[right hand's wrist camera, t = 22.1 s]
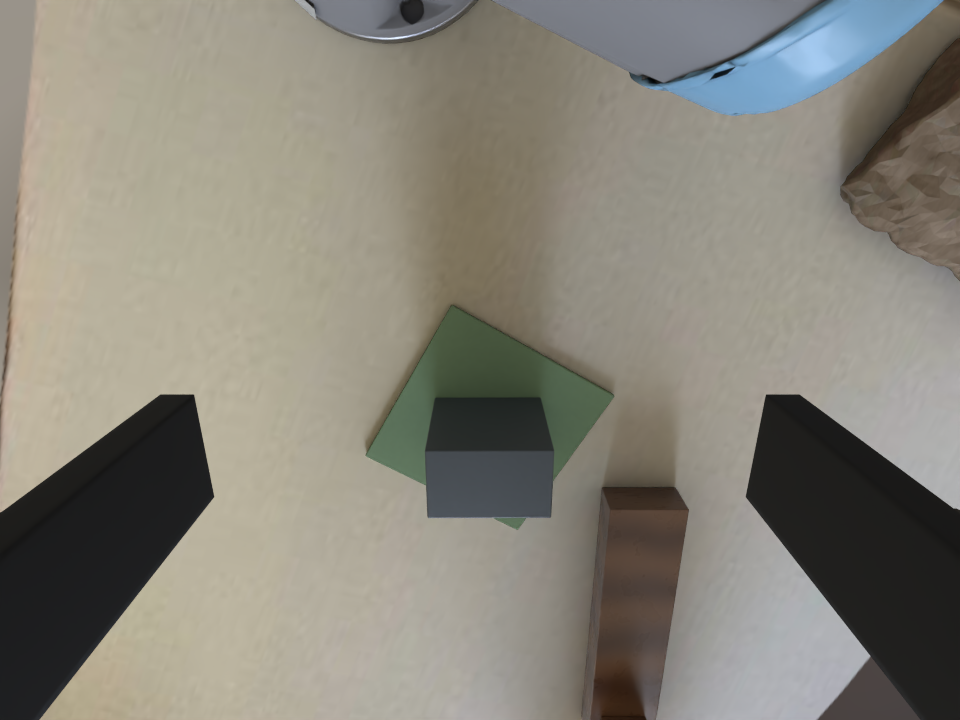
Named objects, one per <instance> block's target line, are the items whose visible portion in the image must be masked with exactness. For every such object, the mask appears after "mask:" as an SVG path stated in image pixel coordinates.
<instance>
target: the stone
mask: <svg viewBox="0 0 960 720" xmlns="http://www.w3.org/2000/svg"><path fill="white" fill-rule="evenodd" d="M840 195H841V197H842V199H843V201H845V202H847V203H849V205H850V209H851V213H852V214H853V215H855V216H856V218H857V219H858V221H859V222H860V223H861V224H862V225H864V226H866V227H868V228H870V229H872V230H873V231H881V232H888V234H889V236H890V239H891V241H892V242H893V243H895V244H896V246H897V247H898V248H899V249H901V250H903V251H905V252H906V253H909V254H912V255H915V256H919V257H921V258H923V259H924V260H926V261H928V262H929V263H931V264H934V265H937V266H945V267H947V268H949V269H950V270H951V271H953V273H954V275H955V277H956V278H957V279H958V280H959V281H960V38H958V39H957V40H955V41H954V43H953V44H952V45H951V46H950V47H949V48H948V49H947V50H946V51H945V52H944V53H943V54H942V55H941V56H940V57H939V58H938V59H937V61H936V62H935V64H934V65H933V66H932V67H931V69H930V70H929V71H928V72H927V73H926V74H925V76H924V78H923V81H922V82H921V83H920V84H919V85H918V86H917V88H916V90H915V92H914V94H913V96H912V98H911V101H910V102H909V104H908V106H907V108H906V110H905V112H904V113H903V114H902V115H901V116H900V117H899V118H898V119H897V120H896V121H895V122H894V123H893V124H892V125H891V126H890V127H889V129H888V130H887V131H886V133H885V134H884V135H883V136H882V137H881V139H880V140H879V141H878V142H877V143H876V144H875V146H874V147H873V148H872V149H871V150H870V151H869V152H868V154H867V156H866V157H865V159H864V161H863V162H862V163H860V164H859V165H858V166H856V167H855V169H854V170H853V171H852V172H851V173H850V174H849V176H848V177H847V179H846V181H845V182H844V183H843V185H842V186H841V194H840Z"/></svg>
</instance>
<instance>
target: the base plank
mask: <svg viewBox="0 0 960 720" xmlns="http://www.w3.org/2000/svg"><path fill="white" fill-rule="evenodd" d="M688 512H689V509H688V508H687V506H686V504H685V503H684V501H683V499H682V497H681V496H680V494H679V492H678V491H677V489H676V488H602V494H601V505H600V516H599V527H598V538H597V549H596V561H595V572H594V583H593V594H592V605H591V616H590V627H589V638H588V649H587V660H586V671H585V682H584V693H583V705H582V720H656V715H657V709H658V702H659V696H660V690H661V683H662V677H663V671H664V664H665V658H666V652H667V645H668V639H669V633H670V626H671V620H672V613H673V607H674V601H675V594H676V588H677V582H678V575H679V569H680V563H681V556H682V550H683V544H684V537H685V531H686V524H687V518H688Z"/></svg>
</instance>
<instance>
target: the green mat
mask: <svg viewBox="0 0 960 720" xmlns="http://www.w3.org/2000/svg"><path fill="white" fill-rule="evenodd" d="M501 397H540V398H541V400H542V404H543V408H544V412H545V416H546V420H547V424H548V428H549V432H550V436H551V440H552V443H553V447H554V468H553V480H554V479H555V478H556V476H557V475H558V473H559V472H560V471H561V469H562V468H563V466H564V465H565V464H566V462H567V461H568V460H569V458H570V457H571V455H572V454H573V453H574V451H575V450H576V449H577V447H578V446H579V444H580V443H581V442H582V440H583V439H584V437H585V436H586V435H587V433H588V432H589V431H590V429H591V428H592V426H593V425H594V424H595V422H596V421H597V420H598V418H599V417H600V415H601V414H602V413H603V411H604V410H605V408H606V407H607V406H608V404H609V403H610V402H611V400H612V399H613V397H614V395H613V394H612V393H610V392H608V391H606V390H605V389H603V388H601V387H599V386H597V385H596V384H594V383H592V382H590V381H588V380H587V379H585V378H583V377H581V376H579V375H578V374H576V373H574V372H572V371H570V370H569V369H567V368H565V367H563V366H561V365H560V364H558V363H556V362H554V361H552V360H551V359H549V358H547V357H545V356H543V355H542V354H540V353H538V352H536V351H534V350H533V349H531V348H529V347H527V346H526V345H524V344H522V343H520V342H518V341H517V340H515V339H513V338H511V337H509V336H508V335H506V334H504V333H502V332H500V331H499V330H497V329H495V328H493V327H491V326H490V325H488V324H486V323H484V322H482V321H481V320H479V319H477V318H475V317H473V316H472V315H470V314H468V313H466V312H464V311H463V310H461V309H459V308H457V307H455V306H454V305H451V307H450V309H449V311H448V312H447V314H446V316H445V318H444V319H443V321H442V323H441V325H440V326H439V328H438V330H437V331H436V333H435V335H434V337H433V338H432V340H431V342H430V344H429V345H428V347H427V349H426V351H425V352H424V354H423V356H422V358H421V359H420V361H419V363H418V365H417V366H416V368H415V370H414V371H413V373H412V375H411V377H410V378H409V380H408V382H407V384H406V385H405V387H404V389H403V391H402V392H401V394H400V396H399V398H398V399H397V401H396V403H395V405H394V406H393V408H392V410H391V411H390V413H389V415H388V417H387V418H386V420H385V422H384V424H383V425H382V427H381V429H380V431H379V432H378V434H377V436H376V438H375V439H374V441H373V443H372V445H371V446H370V448H369V450H368V451H367V453H366V456H367V457H369V458H371V459H373V460H375V461H377V462H379V463H381V464H383V465H385V466H387V467H389V468H391V469H393V470H395V471H397V472H400V473H402V474H404V475H406V476H408V477H410V478H412V479H414V480H416V481H418V482H420V483H422V484H424V485H426V469H425V447H426V442H427V437H428V431H429V426H430V421H431V415H432V410H433V405H434V399H435V398H501ZM494 519H496V520H498V521H500V522H502V523H504V524H506V525H509V526H511V527H513V528H515V529H517V530H518V529H519V527H520V526H521V525H522V523H523V522H524V520H525V519H526V518H494Z"/></svg>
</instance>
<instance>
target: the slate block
mask: <svg viewBox="0 0 960 720" xmlns="http://www.w3.org/2000/svg"><path fill="white" fill-rule="evenodd" d="M553 468H554V447H553V443H552V440H551V436H550V432H549V428H548V424H547V420H546V416H545V412H544V408H543V404H542V400H541V398H540V397H501V398H435V399H434V405H433V410H432V415H431V421H430V426H429V431H428V437H427V442H426V447H425V469H426V492H427V516H428V518H550V517H551V507H552V488H553Z"/></svg>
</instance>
